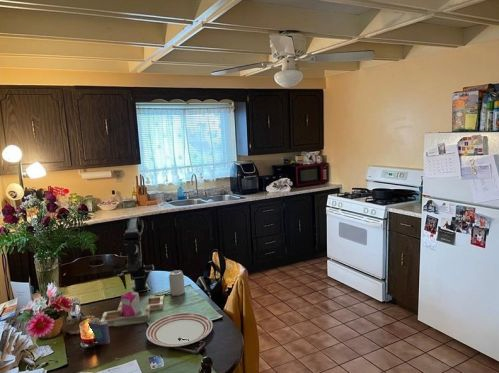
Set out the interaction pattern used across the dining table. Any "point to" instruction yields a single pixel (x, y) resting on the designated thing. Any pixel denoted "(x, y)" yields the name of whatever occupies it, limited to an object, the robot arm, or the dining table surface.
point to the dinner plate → (179, 329)
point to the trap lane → (117, 320)
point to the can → (176, 283)
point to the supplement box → (131, 304)
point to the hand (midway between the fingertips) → (135, 287)
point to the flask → (100, 331)
